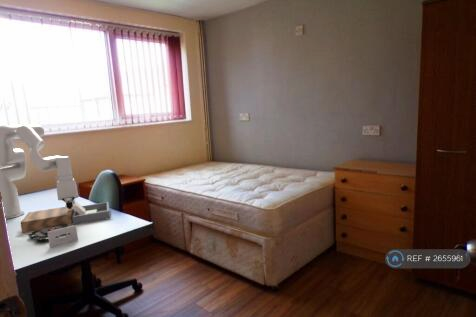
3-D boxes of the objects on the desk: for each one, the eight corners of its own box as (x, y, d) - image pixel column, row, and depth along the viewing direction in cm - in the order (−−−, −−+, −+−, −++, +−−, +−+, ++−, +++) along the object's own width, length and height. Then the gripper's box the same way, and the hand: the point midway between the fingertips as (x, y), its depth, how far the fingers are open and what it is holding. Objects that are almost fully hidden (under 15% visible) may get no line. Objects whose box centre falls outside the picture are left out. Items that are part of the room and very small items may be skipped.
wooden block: (22, 233, 172) (20, 222, 172) (30, 222, 191) (28, 212, 190) (72, 224, 181) (70, 214, 180) (75, 214, 200) (74, 205, 199)
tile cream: (72, 207, 186) (75, 204, 187) (73, 205, 193) (76, 201, 193) (81, 215, 189) (85, 212, 189) (82, 212, 195) (85, 209, 196)
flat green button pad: (27, 238, 165) (25, 229, 165) (64, 227, 179) (62, 219, 178) (39, 246, 154) (38, 236, 153) (78, 233, 167) (77, 224, 167)
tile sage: (96, 212, 191) (97, 216, 191) (96, 209, 198) (97, 213, 198) (83, 214, 189) (83, 218, 189) (84, 211, 195) (84, 215, 195)
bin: (73, 224, 180) (72, 217, 180) (76, 214, 201) (75, 207, 200) (109, 218, 187) (108, 210, 187) (109, 208, 208) (108, 201, 207)
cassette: (77, 239, 157) (75, 224, 156) (78, 241, 156) (76, 225, 155) (49, 247, 151) (46, 231, 149) (50, 248, 149) (47, 232, 148)
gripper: (49, 180, 180) (54, 212, 183) (79, 177, 185) (83, 208, 188) (51, 178, 187) (56, 209, 190) (80, 174, 192) (84, 204, 195)
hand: (70, 208), depth 189 cm, fingers closed
